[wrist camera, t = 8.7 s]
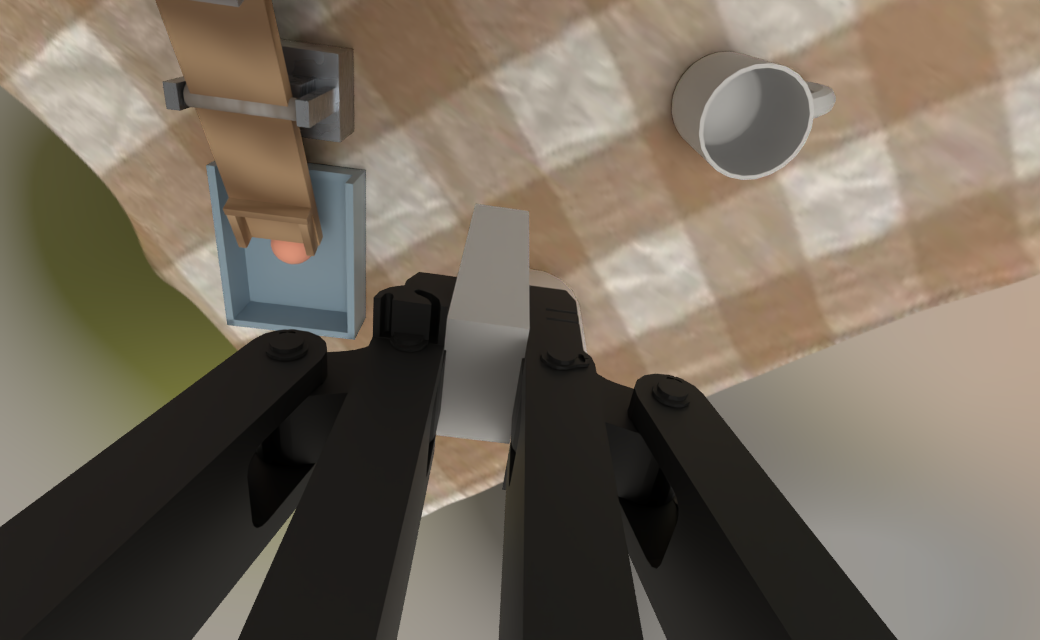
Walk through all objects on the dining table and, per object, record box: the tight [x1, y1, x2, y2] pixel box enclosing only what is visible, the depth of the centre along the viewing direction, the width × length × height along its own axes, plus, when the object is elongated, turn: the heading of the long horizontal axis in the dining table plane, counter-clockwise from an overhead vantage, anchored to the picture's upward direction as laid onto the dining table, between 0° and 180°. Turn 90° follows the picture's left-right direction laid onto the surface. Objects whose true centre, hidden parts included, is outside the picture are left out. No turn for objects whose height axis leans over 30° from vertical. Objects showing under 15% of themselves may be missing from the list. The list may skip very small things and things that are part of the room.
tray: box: [206, 161, 366, 340], centre depth 50 cm, size 14×11×4 cm
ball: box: [271, 240, 311, 264], centre depth 49 cm, size 4×4×4 cm
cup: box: [672, 52, 836, 180], centre depth 41 cm, size 7×10×9 cm
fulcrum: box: [163, 39, 354, 142], centre depth 41 cm, size 6×9×10 cm, turn 83°
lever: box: [156, 0, 323, 256], centre depth 38 cm, size 24×7×9 cm, turn 173°
